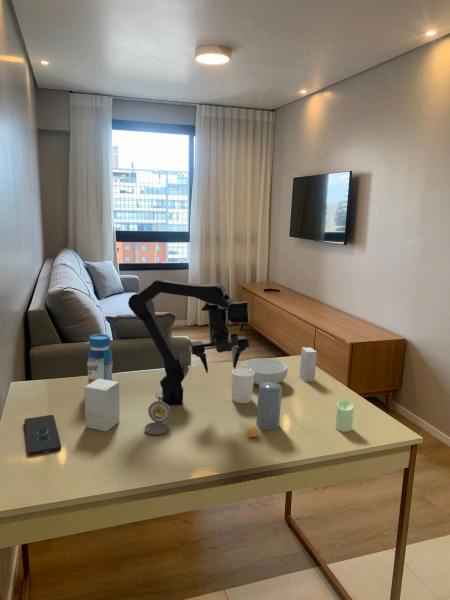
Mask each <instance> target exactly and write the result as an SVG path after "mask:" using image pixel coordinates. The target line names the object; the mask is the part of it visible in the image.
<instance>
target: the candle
mask: <svg viewBox="0 0 450 600" xmlns="http://www.w3.org/2000/svg"><path fill="white" fill-rule="evenodd" d="M354 411H355V405H354V403H353V401H350V400H348V399H341V400H339V401H337V403H336V413H335V423H334V428H335V429H336V430H337V431H339V432H342V433H347V432H351V431H352V430H353V422H354V421H353V420H354Z"/></svg>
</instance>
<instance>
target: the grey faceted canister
mask: <svg viewBox="0 0 450 600" xmlns="http://www.w3.org/2000/svg"><path fill="white" fill-rule="evenodd" d="M257 393H258V395H257V396H258V399H257V411H256V412H257V413H256V425H257V426H258V427H259V429H263V430H266V431H272V430H278V428H279V426H280V419H281V407H282V406H281V405H282V393H283V387H282V385H281V384H280V383H278V384H277V383H273V382H264V383H261V384H260V385H258V392H257Z"/></svg>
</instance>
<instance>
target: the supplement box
mask: <svg viewBox="0 0 450 600" xmlns="http://www.w3.org/2000/svg"><path fill="white" fill-rule="evenodd" d="M83 387H84V419H85V422H84V423H85V428H89V429H93V430H97V431H102V432H108V431H109V430H111V428H113V427H114V426H115V425H117V424H119V422H120V421H121V420H120V382H119V381H114V380H112V381H109V380H104V379H97V380H95V381H94V382H92V383H90V384H89V385H88V384H87V385H86V386H83Z"/></svg>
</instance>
